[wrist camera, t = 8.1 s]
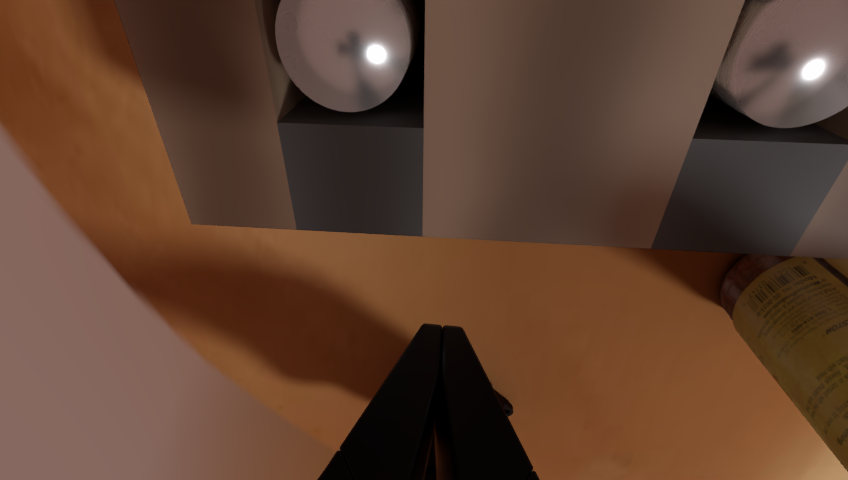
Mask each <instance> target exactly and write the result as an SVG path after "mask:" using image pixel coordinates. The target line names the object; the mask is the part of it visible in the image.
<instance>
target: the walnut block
mask: <svg viewBox="0 0 848 480" xmlns="http://www.w3.org/2000/svg"><path fill="white" fill-rule="evenodd" d="M744 1H745V0H425V59H424V72H406V73H405V75H404V77H403V79H402V81H401V83H400V84H399V86H398V87H397V89H396V90H395V91H394V93H393V94H392V95H391V96H390V97H389V98H388V99H386V100H385V101H384V102H382V103H381V104H379V105H377V106H375V107H373V108H371V109H368V110H365V111H359V112H341V111H336V110H332V109H329V108H327V107H324V106H322V105H320V104H318V103H316V102H315V101H313V100H312V99H310V98H309V97H308V96H307V95H305V94H304V93H303V92H302V91H301V90H300V89H299V88H298V87H297V86H296V85H295V83H294V82H293V81H292V79H291V78H290V76H289V75H288V73H287V72H286V70H285V68H284V66H283V63H282V61H281V58H280V56H279V53H278V48H277V44H276V36H275V23H276V15H277V11H278V7H279V4H280V2H281V0H114V2H115V5H116V7H117V10H118V13H119V16H120V19H121V22H122V25H123V28H124V31H125V33H126V36H127V39H128V42H129V45H130V48H131V51H132V54H133V56H134V59H135V62H136V65H137V68H138V71H139V74H140V77H141V80H142V82H143V85H144V88H145V91H146V94H147V97H148V100H149V103H150V105H151V108H152V111H153V114H154V117H155V120H156V123H157V126H158V129H159V131H160V134H161V137H162V140H163V143H164V146H165V149H166V152H167V154H168V157H169V160H170V163H171V166H172V169H173V172H174V175H175V178H176V180H177V183H178V186H179V189H180V192H181V195H182V198H183V201H184V203H185V206H186V209H187V212H188V215H189V218H190V221H191V224H199V225H218V226H236V227H255V228H274V229H292V230H311V231H330V232H348V233H367V234H385V235H404V236H423V237H441V238H460V239H479V240H497V241H516V242H535V243H553V244H572V245H590V246H609V247H628V248H646V249H665V250H684V251H702V252H721V253H739V254H758V255H777V256H795V257H814V258H833V259H848V106H847V107H846V108H844V109H843V110H841V111H839V112H838V113H836V114H834V115H832V116H830V117H828V118H826V119H823V120H821V121H818V122H815V123H812V124H809V125H805V126H801V127H793V128H776V127H770V126H766V125H763V124H760V123H758V122H756V121H754V120H753V119H751V118H749V117H747V116H746V115H744V114H742V113H741V112H739V111H737V110H735V109H734V108H732V107H730V106H728V105H727V104H725V103H723V102H722V101H720V100H718V99H716V98H715V97H713V96H711V95H710V91H711V88H712V86H713V83H714V81H715V78H716V75H717V73H718V70H719V67H720V65H721V62H722V59H723V57H724V54H725V52H726V49H727V46H728V44H729V41H730V38H731V36H732V33H733V30H734V28H735V25H736V23H737V20H738V17H739V15H740V12H741V9H742V7H743V4H744Z"/></svg>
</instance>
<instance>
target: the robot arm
mask: <svg viewBox="0 0 848 480" xmlns="http://www.w3.org/2000/svg"><path fill="white" fill-rule="evenodd" d="M512 414H513V406H512V405H511V404H510V403H509V402H508V401H506V400H505V399H504V398H503V397H501V396H500V395H499V394H497V393H496V392H495V391H494V389H493V387H492V385H491V383H490V381H489V379H488V377H487V375H486V373H485V371H484V369H483V367H482V365H481V363H480V361H479V359H478V357H477V355H476V353H475V351H474V349H473V347H472V346H471V344H470V342H469V340H468V338H467V336H466V334H465V332H464V330H463V328H461V327H458V326H447V325H445V326H443V328H442V326H441V325H436V324H423V325H422V326H421V327H420V329H419V330H418V332H417V333H416V335H415V336H414V338H413V339H412V341H411V342H410V344H409V345H408V347H407V348H406V349H405V351H404V352H403V354H402V355H401V357H400V358H399V360H398V361H397V363H396V364H395V366H394V367H393V369H392V370H391V372H390V373H389V375H388V376H387V378H386V379H385V381H384V382H383V384H382V385H381V387H380V388H379V390H378V391H377V393H376V394H375V396H374V397H373V399H372V400H371V402H370V403H369V405H368V406H367V408H366V409H365V411H364V412H363V414H362V415H361V417H360V418H359V419H358V421H357V422H356V424H355V425H354V427H353V428H352V430H351V431H350V433H349V434H348V436H347V437H346V439H345V440H344V442H343V443H342V445H341V446H340V451H337V452H336V453H335V455H334V457H333V458H332V459H331V461H330V462H329V464H328V465H327V467H326V468H325V470H324V471H323V473H322V474H321V475H320V477H319V478H318V479H317V480H539V478H538V476H537V474H536V472H535V471H533V466H532V464H531V462H530V460H529V458H528V456H527V454H526V452H525V450H524V448H523V446H522V444H521V442H520V440H519V438H518V437H517V435H516V433H515V431H514V429H513V427H512V425H511V423H510V421H509V419H508V416H510V415H512Z"/></svg>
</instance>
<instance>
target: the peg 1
mask: <svg viewBox="0 0 848 480" xmlns="http://www.w3.org/2000/svg"><path fill="white" fill-rule="evenodd" d="M424 34H425V0H281V2H280V4H279V7H278V11H277V15H276V23H275V36H276V44H277V48H278V53H279V56H280V58H281V61H282V63H283V66H284V68H285V70H286V72H287V73H288V75H289V76H290V78H291V79H292V81H293V82H294V83H295V85H296V86H297V87H298V88H299V89H300V90H301V91H302V92H303V93H304V94H305V95H307V96H308V97H309V98H310V99H312V100H313V101H315V102H316V103H318V104H320V105H322V106H324V107H327V108H329V109H332V110H336V111H341V112H359V111H365V110H368V109H371V108H373V107H375V106H377V105H379V104H381V103H382V102H384V101H385V100H386V99H388V98H389V97H390V96H391V95H392V94H393V93H394V91H395V90H396V89H397V87H398V86H399V84H400V83H401V81H402V79H403V77H404V75H405V73H406V71H407V69H408V67H409V65H410V63H411V61H412V59H413V57H414V55H415V53H416V51H417V49H418V47H419V45H420V43H421V41H422V38H423V36H424Z"/></svg>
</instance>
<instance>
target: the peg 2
mask: <svg viewBox="0 0 848 480" xmlns="http://www.w3.org/2000/svg"><path fill="white" fill-rule="evenodd" d="M710 95H711V96H713V97H715V98H716V99H718V100H720V101H722V102H723V103H725V104H727V105H728V106H730V107H732V108H734V109H735V110H737V111H739V112H741V113H742V114H744V115H746V116H747V117H749V118H751V119H753V120H754V121H756V122H758V123H760V124H763V125H766V126H770V127H776V128H793V127H801V126H805V125H809V124H812V123H815V122H818V121H821V120H823V119H826V118H828V117H830V116H832V115H834V114H836V113H838V112H839V111H841V110H843V109H844V108H846V107H847V106H848V0H745V1H744V4H743V7H742V9H741V12H740V15H739V17H738V20H737V23H736V25H735V28H734V30H733V33H732V36H731V38H730V41H729V44H728V46H727V49H726V52H725V54H724V57H723V59H722V62H721V65H720V67H719V70H718V73H717V75H716V78H715V81H714V83H713V86H712V88H711V91H710Z"/></svg>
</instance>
